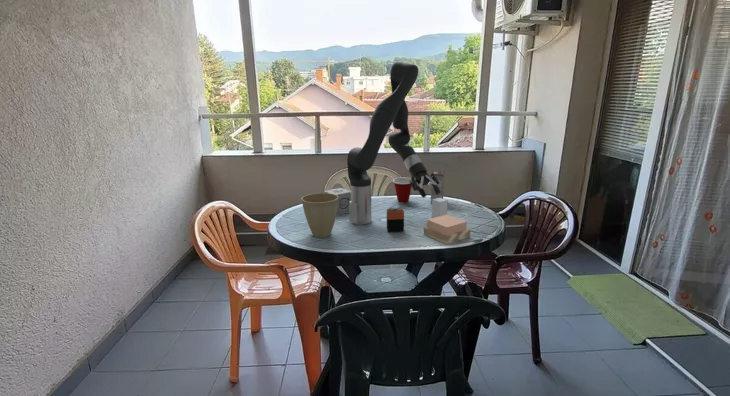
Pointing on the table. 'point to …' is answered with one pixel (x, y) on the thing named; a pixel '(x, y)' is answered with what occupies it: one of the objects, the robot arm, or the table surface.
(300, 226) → the table surface
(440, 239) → the birch slab
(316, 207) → the plant pot
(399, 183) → the plastic cup
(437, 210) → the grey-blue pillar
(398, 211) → the battery
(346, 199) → the icon cube
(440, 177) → the coffee box
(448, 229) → the terracotta slab
